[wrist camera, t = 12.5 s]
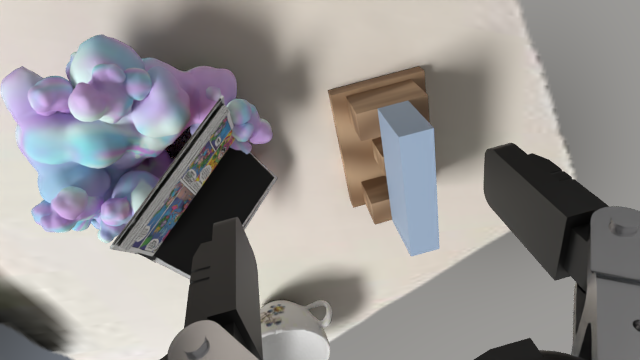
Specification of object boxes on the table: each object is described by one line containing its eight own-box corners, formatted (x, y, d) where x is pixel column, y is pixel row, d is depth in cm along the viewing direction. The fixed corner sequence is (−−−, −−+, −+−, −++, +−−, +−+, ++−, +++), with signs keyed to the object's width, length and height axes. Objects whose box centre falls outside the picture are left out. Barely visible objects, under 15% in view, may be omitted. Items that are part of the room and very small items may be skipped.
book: (-26, -6, 29) (-119, 230, 21) (276, 1, 32) (288, 212, 24) (89, 141, 47) (60, 298, 40) (275, 138, 50) (282, 283, 42)
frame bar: (377, 108, 38) (398, 137, 33) (408, 100, 38) (433, 127, 33) (392, 219, 46) (411, 256, 41) (417, 212, 46) (439, 248, 41)
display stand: (327, 90, 43) (340, 113, 38) (419, 66, 43) (442, 85, 38) (350, 200, 51) (362, 231, 46) (426, 179, 51) (446, 207, 46)
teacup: (274, 349, 65) (279, 398, 58) (217, 316, 58) (215, 367, 52) (349, 300, 62) (363, 346, 55) (297, 259, 55) (305, 306, 48)
